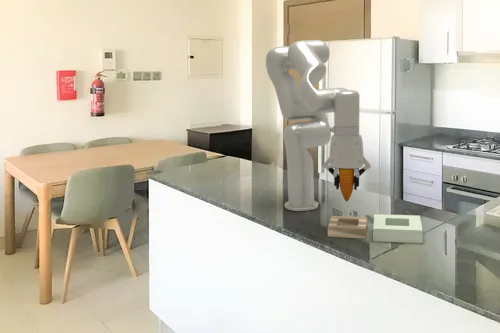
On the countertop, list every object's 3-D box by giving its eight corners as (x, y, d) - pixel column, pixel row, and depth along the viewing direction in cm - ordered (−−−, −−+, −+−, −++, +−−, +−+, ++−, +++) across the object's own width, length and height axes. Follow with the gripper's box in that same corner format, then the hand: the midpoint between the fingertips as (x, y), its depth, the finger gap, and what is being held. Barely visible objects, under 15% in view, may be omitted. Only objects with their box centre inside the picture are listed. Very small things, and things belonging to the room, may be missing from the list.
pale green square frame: (374, 226, 167) (374, 214, 166) (419, 227, 163) (419, 215, 162) (373, 241, 154) (373, 228, 153) (422, 243, 150) (422, 230, 149)
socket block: (331, 224, 170) (331, 216, 170) (367, 226, 167) (367, 217, 167) (327, 236, 159) (327, 227, 159) (365, 238, 156) (365, 229, 156)
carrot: (335, 200, 163) (335, 154, 160) (349, 198, 165) (349, 152, 161) (343, 204, 159) (343, 157, 155) (357, 202, 160) (357, 155, 157)
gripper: (317, 133, 155) (317, 191, 160) (375, 133, 151) (374, 192, 155) (320, 129, 162) (320, 184, 167) (375, 129, 158) (374, 186, 162)
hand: (346, 187), depth 161 cm, fingers closed on carrot, 4 cm apart
